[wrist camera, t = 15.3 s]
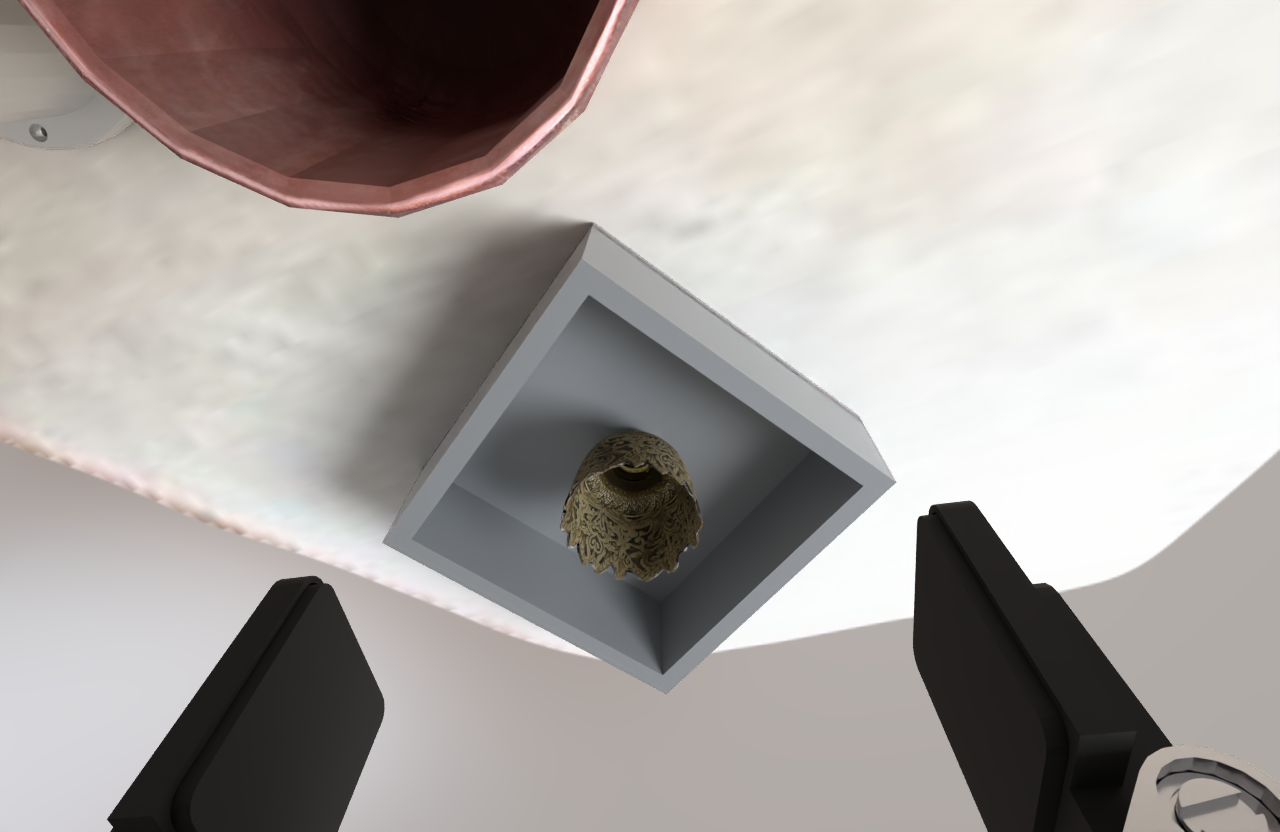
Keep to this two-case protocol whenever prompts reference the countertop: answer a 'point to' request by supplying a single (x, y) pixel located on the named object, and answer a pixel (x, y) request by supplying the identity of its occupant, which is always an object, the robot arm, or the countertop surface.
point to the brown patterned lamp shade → (632, 507)
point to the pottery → (345, 87)
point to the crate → (660, 405)
